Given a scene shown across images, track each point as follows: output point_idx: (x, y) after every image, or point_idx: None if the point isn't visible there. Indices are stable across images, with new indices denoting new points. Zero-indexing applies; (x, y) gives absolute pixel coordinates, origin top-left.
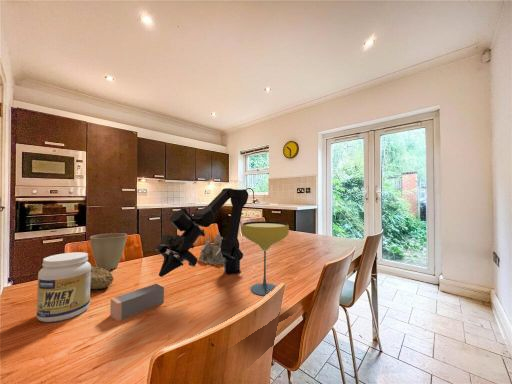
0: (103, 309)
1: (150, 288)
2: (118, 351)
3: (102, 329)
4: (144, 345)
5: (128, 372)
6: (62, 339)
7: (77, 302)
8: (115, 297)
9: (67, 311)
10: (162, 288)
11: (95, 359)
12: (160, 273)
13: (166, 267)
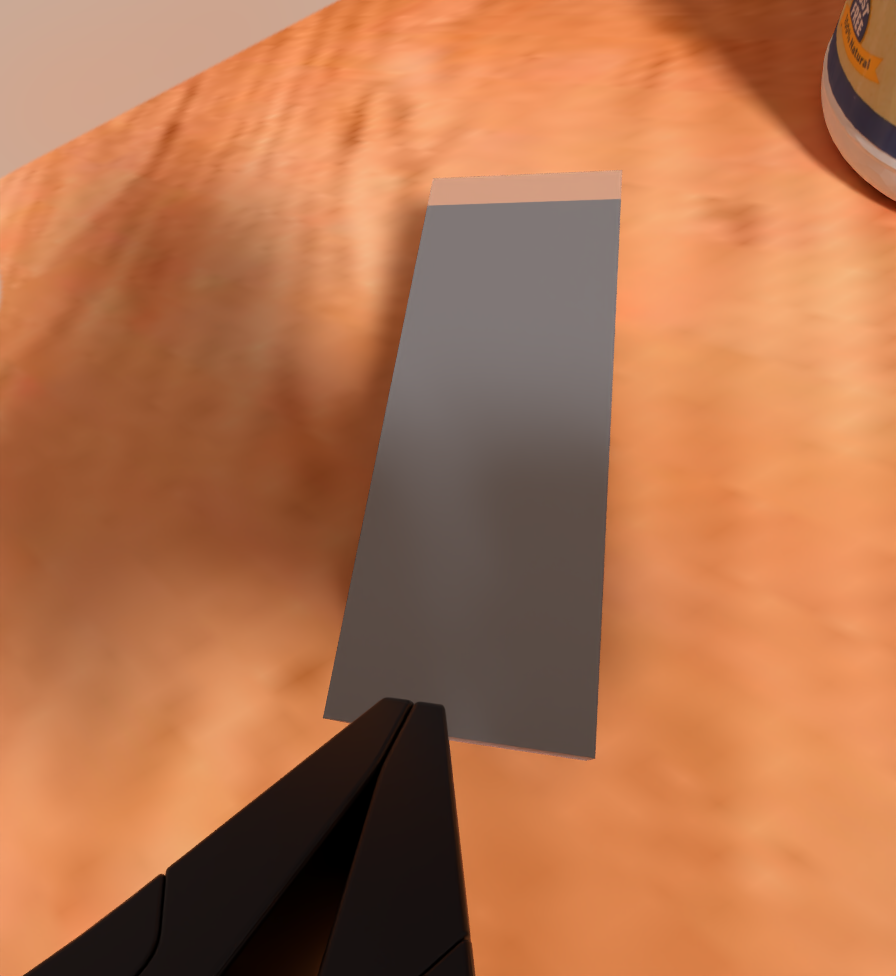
0: (791, 302)
1: (483, 568)
2: (164, 208)
3: None
4: (70, 295)
5: (17, 192)
6: (547, 75)
7: (868, 25)
8: (604, 203)
9: (834, 35)
10: (331, 689)
11: (218, 138)
12: (381, 721)
13: (178, 871)
